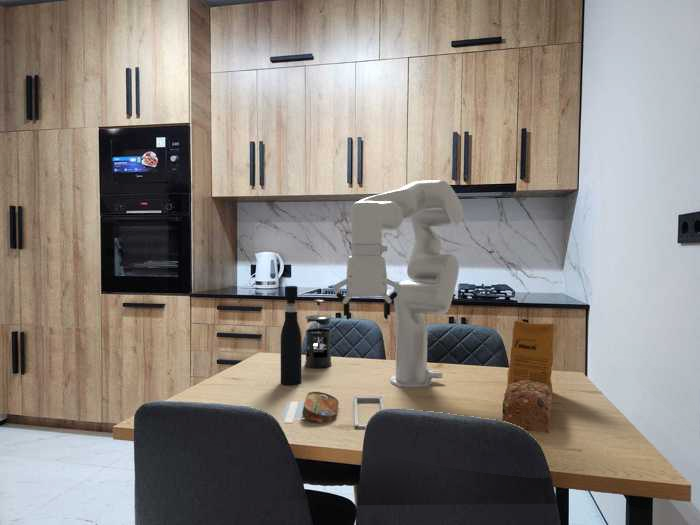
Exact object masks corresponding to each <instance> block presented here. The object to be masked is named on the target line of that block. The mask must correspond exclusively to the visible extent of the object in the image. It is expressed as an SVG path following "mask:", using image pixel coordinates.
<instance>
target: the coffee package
mask: <svg viewBox="0 0 700 525" xmlns="http://www.w3.org/2000/svg"><path fill="white" fill-rule="evenodd" d="M513 322H514V323H513V329H512V340H511V341H512V343H511V348H510V359H509V367H508V371H507V379H506V380H507V384H506V386H507V387H508V386H509V385H510V384H513V383H515V382H518V381H520V380H529V381H533V382H539V383H542V384H546V385H548V386H549V387H551V389H552V398H553V397H554V392H553V385H552V380H551V378H552V373H553V372H552V367H553V361H554V346H553V345H554V332H555V324H554V323H553V322H550V323H549V322H548V323H547V322H546V323H531V322H526V321H521V320H517V319H514V321H513Z"/></svg>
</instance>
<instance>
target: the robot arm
mask: <svg viewBox="0 0 700 525" xmlns="http://www.w3.org/2000/svg"><path fill="white" fill-rule="evenodd" d="M348 216H349V222H350V224H351V255H349V256H348V259H347V263H346V264H347V265H346V278H345V279H343V280H340V281H338V282H337V283H335V284H333V285H332V286H331V287H332V290H333V292H334V294H335V295H336V297H337V298H338V299H339V301H341V302H342V303H343V316H345V317H346V321H347V320H350V300H351V299H352V297H382V298H383V300H384V302H383V318H384V319H385V320H388V319H389V318H388V317H389V316H391V303H392V302H394V303H393V304H394V309H395V319H396V320H395V321H396V323H395V324H396V326H395V327H396V328H395V331H396V332H395V333H396V335H395V336H396V337H395V342H396V343H395V374H394V375H392V376H391V377H390V383H391V384H392V385H393V386H396V387H398V388H405V389H421V388H426V387H429V386H431V385H432V383H433V382H432V379H443V372H442V371H437V370H429V369H428V324H427V321H426V319H425V318H424V316H423V314H429V315H445V314H446V313H448V311H449V310H450V307H451V306H452V301H453V298H454V293H455V289H456V285H457V281H458V278H459V273H460V271H459V270H460V265H459V261H458V258H457V257H456V255H454V254H452V253H450V252H441V248H442V242H441V239H440V237H439V236H438V234H437V233H436V232H435V231H434V230H433V229H432V227H434V228H435V227H436V228H437V227H441V228H442V227H445V228H446V227H457V226H459V225H460V224H461V223H462V221H463V219H464V208H463V205H462V203H461V201H460V199H459V197H458V195H457V193H456V192H455V190H454V189H453V187H452V186H451V185H450V184H449V183H448V182H447V181H445V180H442V179H438V180H420V181H414V182H410V183H409V184H407V185H405V186H402V187H401V188H399V189H396V190H390V191H386V192H384V193H380V194H379V193H378V194H375V195H371V196H368V197H366V198H362V199H360V200H359V201H355V202H353V203H352V205H351V207H350V210H349V215H348ZM409 217H410V220H411V224H412V229H413V234H414V244H413V248H412V251H411V254H410V257H409V261H408V263H407V267H406V269H407V270H406V273H407V274H406V275H407V276H408V278H409V279H410V280H404V281H400V282H395V281H393V280H391V279H390V278H388V277H387V276H388V275H387V266H386V259H385V256H384V255H383V253H384V252H388V246H387V245H383V244H382V241H383V240H382V238H383V237H382V236H383V235H382V231H394V230H396V229H398V228H399V227H401V225H402V224H403V221H404V219H407V218H409ZM388 285H389V286H390V287H393V291H392V292H391V293H389V295H388V294H387V292H388ZM342 287H346V292H347V293H346V294H345V295H344V294H342V292H341V291H340V288H342Z"/></svg>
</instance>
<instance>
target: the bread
mask: <svg viewBox="0 0 700 525" xmlns="http://www.w3.org/2000/svg"><path fill="white" fill-rule="evenodd" d="M552 391H553V388H552V389H551V387H549V386H548V385H546V384H542V383H539V382H533V381H529V380H520V381H518V382H515V383H513V384H510V385H509V386H508V387H507V388H506V389H505V393H504V397H503V401H502V422H503V421H506V422H509V423H512V424H515V425H517V426H520V427H522V428H524V429H525V430H524V431H527V432H535V433H542V434H549V432H550V423H551V422H550V421H551V410H552V402H553V400H552V398H553V397H552Z"/></svg>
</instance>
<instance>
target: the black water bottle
mask: <svg viewBox="0 0 700 525" xmlns="http://www.w3.org/2000/svg"><path fill="white" fill-rule="evenodd" d="M284 298H286V304H287V305H286V306H285V311H284V323H283V326H282V329H281V333H280V385H282V386H287V387H292V386H293V387H294V386H298V385H301V384H302V346H303V345H302V339H303V338H302V332H301V328H300V324H299V322H298V311H297V307H298V306H297V305H296V298H298V286H296V285H286V286H284Z"/></svg>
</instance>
